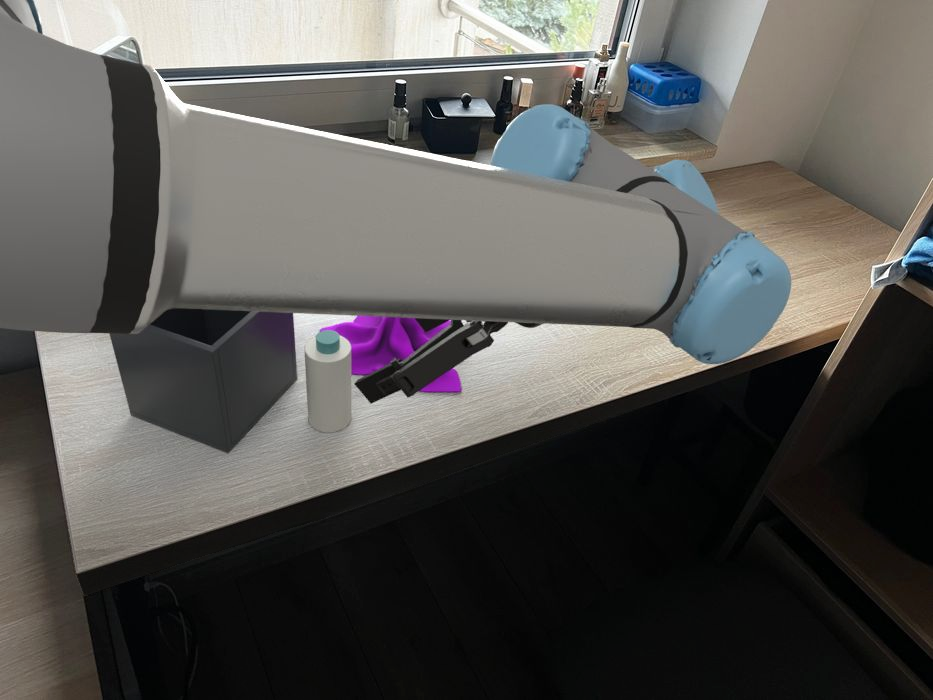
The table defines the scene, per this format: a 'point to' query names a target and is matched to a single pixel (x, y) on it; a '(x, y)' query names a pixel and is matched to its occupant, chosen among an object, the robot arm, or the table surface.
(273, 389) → the dark grey open box
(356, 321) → the cloth
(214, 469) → the table surface
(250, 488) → the table surface
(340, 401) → the white bottle
